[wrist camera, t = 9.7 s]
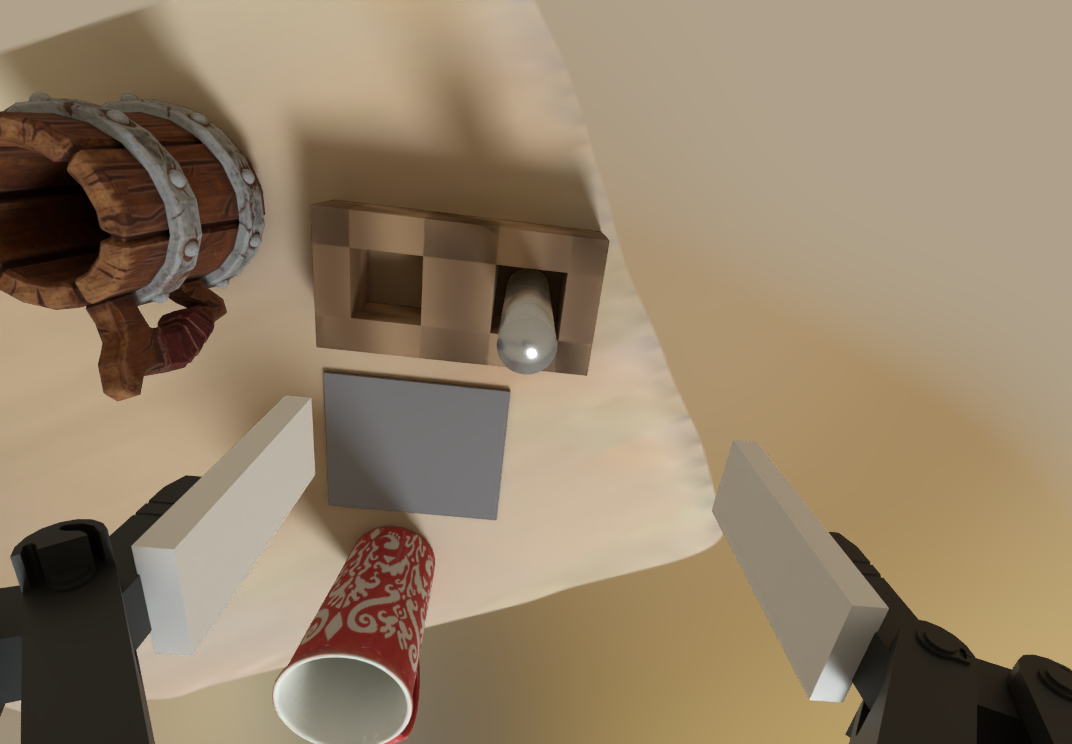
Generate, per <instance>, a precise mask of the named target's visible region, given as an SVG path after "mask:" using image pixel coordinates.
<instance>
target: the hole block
mask: <svg viewBox="0 0 1072 744" xmlns="http://www.w3.org/2000/svg"><path fill="white" fill-rule="evenodd" d="M310 210H311V232H312V255H313V278H314V301H315V323H316V346H317V347H320V348H330V349H339V350H349V351H358V352H368V353H377V354H387V355H396V356H406V357H415V358H425V359H434V360H444V361H453V362H462V363H472V364H481V365H491V366H500V367H506V366H505V365H504V364H503V362H502V361H501V359H500V358H499V355H498V352H497V339H498V334H499V328H500V322H501V317H498V316H494V311H495V300H496V289H497V278H498V267H499V265H504V266H513V267H521V268H530V269H539V270H547V271H556V272H563V274H562V281H561V288H560V296H559V303H558V310H557V317H556V323H554V327H555V334H556V341H557V351H556V355H555V357H554V359H553V361H552V362H551V364H550V365H549V366H548V367H546V368H545V369H544V370H542V371H548V372H557V373H567V374H576V375H586V376H587V373H588V367H589V361H590V355H591V349H592V343H593V337H594V331H595V325H596V319H597V313H598V307H599V301H600V295H601V289H602V283H603V277H604V271H605V265H606V259H607V253H608V247H609V240H608V238H607V237H606V236H605V235H604V234H603V233H602V232H598V231H590V230H581V229H573V228H565V227H556V226H548V225H540V224H531V223H523V222H515V221H506V220H498V219H490V218H481V217H473V216H465V215H456V214H448V213H440V212H431V211H423V210H415V209H406V208H398V207H390V206H381V205H373V204H365V203H356V202H348V201H340V200H331V201H326V202H321V203H317V204H312V205H310ZM368 250H374V251H383V252H392V253H400V254H409V255H418V256H423V277H422V306H421V308H417V307H408V306H399V305H390V304H381V303H372V302H368Z"/></svg>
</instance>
